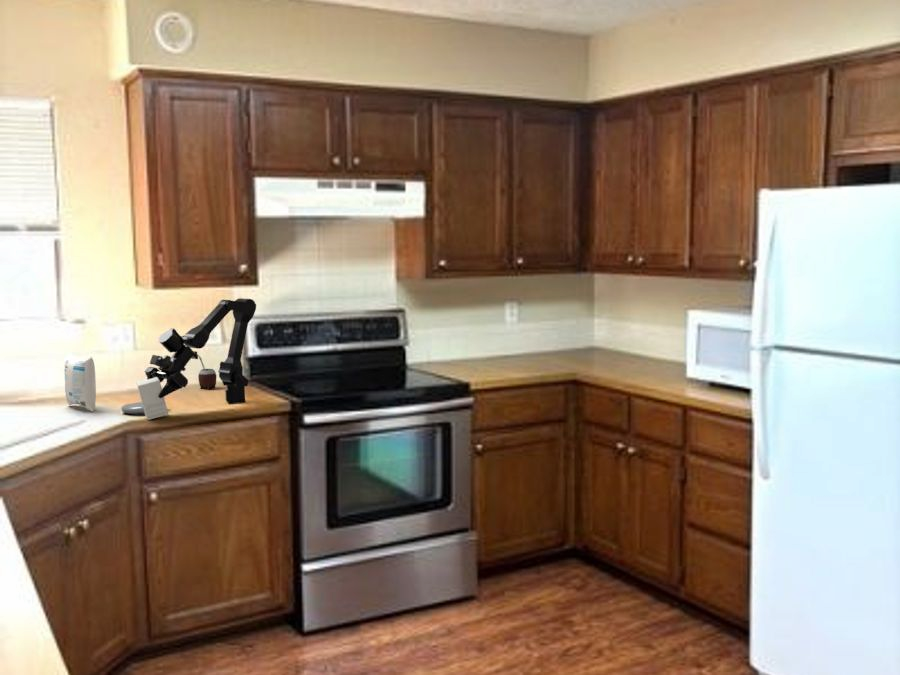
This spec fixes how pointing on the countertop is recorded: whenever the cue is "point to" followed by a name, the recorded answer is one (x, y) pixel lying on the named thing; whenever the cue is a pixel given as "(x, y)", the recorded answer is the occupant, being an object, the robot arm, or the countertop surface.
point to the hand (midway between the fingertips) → (151, 395)
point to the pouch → (80, 381)
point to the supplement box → (152, 398)
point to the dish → (134, 408)
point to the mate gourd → (207, 377)
